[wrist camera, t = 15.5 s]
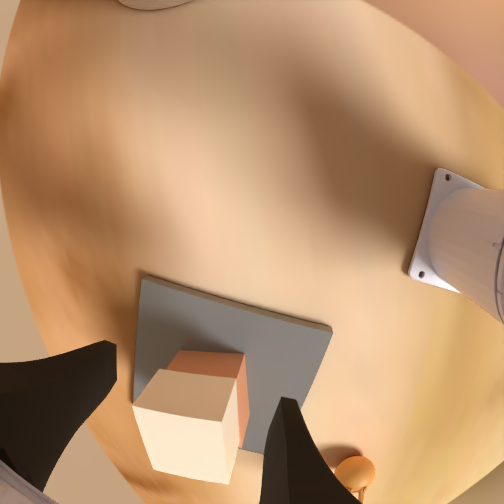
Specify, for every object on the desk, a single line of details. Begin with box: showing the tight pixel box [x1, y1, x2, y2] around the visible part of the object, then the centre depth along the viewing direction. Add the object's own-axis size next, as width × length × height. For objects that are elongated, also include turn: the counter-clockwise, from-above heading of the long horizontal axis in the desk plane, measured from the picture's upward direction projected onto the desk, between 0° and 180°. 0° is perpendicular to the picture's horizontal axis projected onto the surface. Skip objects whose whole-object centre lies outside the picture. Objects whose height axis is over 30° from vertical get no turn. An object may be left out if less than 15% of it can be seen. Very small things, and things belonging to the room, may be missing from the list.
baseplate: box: [133, 275, 333, 454], centre depth 23 cm, size 14×14×1 cm
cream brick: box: [132, 369, 239, 484], centre depth 16 cm, size 5×6×4 cm
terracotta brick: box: [166, 350, 250, 448], centre depth 20 cm, size 5×6×4 cm
